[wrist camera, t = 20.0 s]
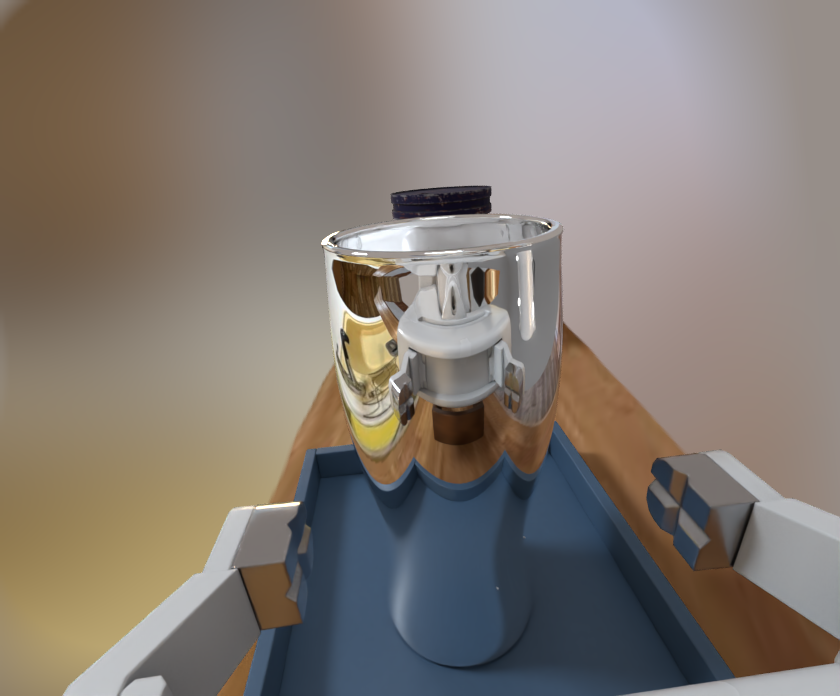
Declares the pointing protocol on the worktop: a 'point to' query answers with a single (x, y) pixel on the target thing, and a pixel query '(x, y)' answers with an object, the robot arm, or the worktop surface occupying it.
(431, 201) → the navy layered cylinder
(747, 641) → the worktop surface
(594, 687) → the tray
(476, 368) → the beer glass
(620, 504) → the worktop surface
